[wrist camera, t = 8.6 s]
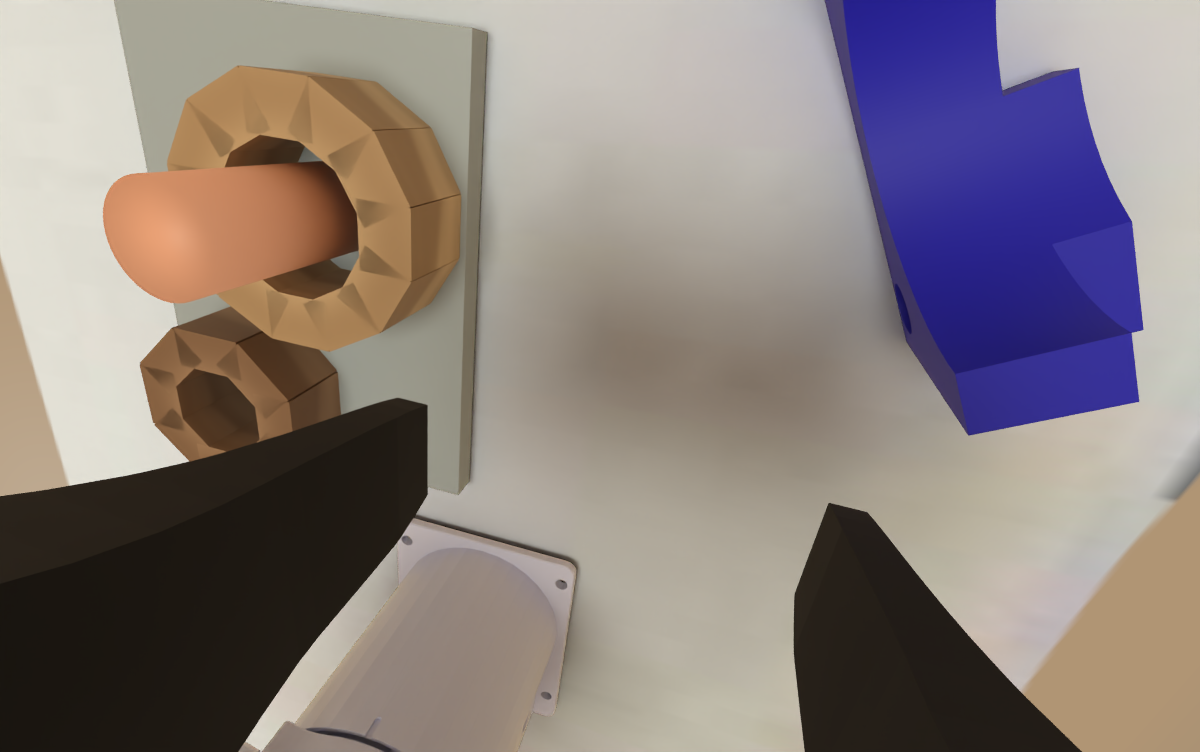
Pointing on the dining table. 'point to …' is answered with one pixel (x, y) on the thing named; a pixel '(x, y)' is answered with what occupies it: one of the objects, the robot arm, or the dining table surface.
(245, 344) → the walnut bead
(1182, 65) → the dining table surface
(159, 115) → the board
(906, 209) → the blue curved cradle
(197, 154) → the oak bead
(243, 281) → the orange rounded peg
